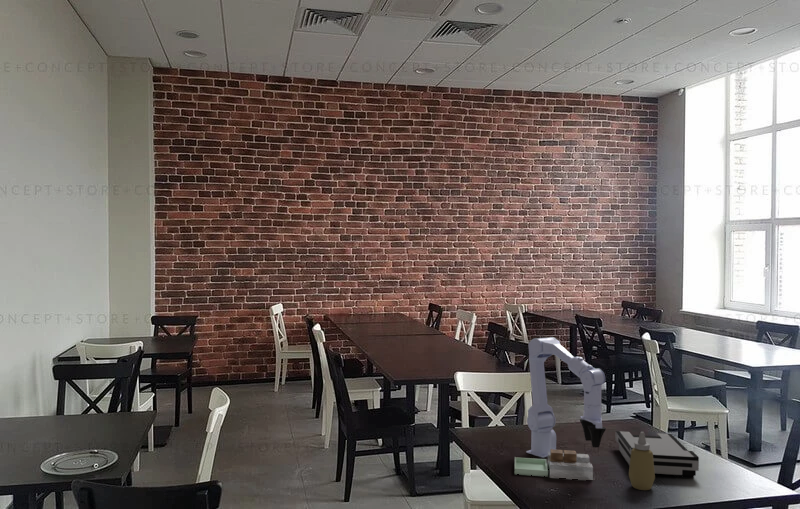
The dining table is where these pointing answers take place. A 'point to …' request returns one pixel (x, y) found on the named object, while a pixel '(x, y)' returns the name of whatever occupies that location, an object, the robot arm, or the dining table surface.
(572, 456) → the chip
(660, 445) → the game console
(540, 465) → the tray
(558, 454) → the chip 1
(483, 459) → the dining table surface
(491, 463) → the dining table surface
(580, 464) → the slot block
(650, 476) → the squeeze bottle
